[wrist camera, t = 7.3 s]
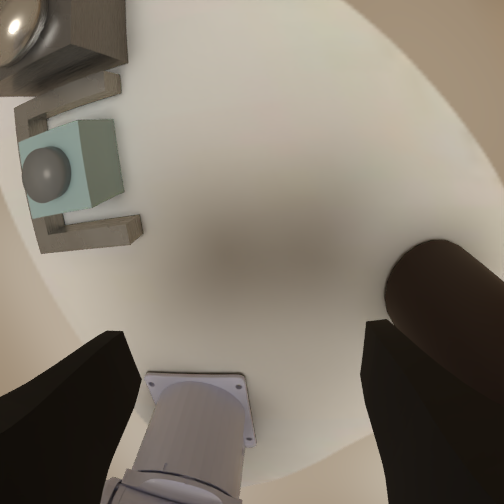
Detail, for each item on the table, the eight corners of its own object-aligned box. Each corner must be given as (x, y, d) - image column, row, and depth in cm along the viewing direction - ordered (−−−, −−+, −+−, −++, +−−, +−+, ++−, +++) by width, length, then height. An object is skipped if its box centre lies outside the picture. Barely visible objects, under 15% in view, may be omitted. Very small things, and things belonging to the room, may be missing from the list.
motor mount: (151, 232, 19) (96, 285, 12) (56, 243, 20) (-7, 287, 13) (125, -9, 13) (64, -52, 7) (31, 34, 14) (-38, 21, 8)
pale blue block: (125, 191, 18) (81, 213, 14) (68, 201, 19) (21, 224, 14) (114, 119, 17) (66, 120, 12) (57, 136, 17) (6, 144, 12)
